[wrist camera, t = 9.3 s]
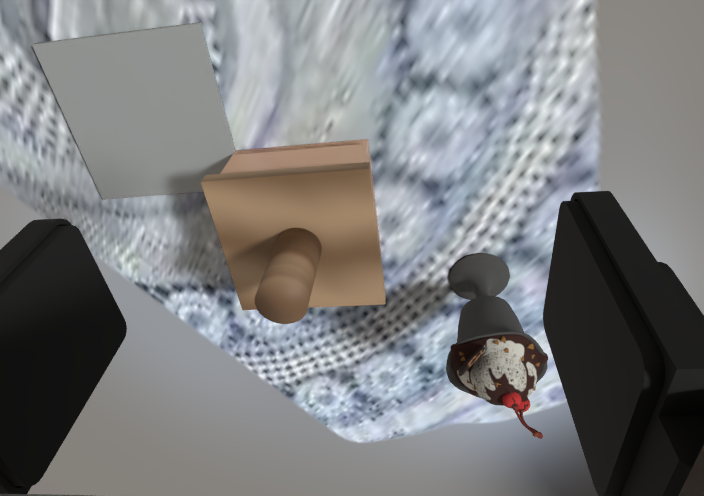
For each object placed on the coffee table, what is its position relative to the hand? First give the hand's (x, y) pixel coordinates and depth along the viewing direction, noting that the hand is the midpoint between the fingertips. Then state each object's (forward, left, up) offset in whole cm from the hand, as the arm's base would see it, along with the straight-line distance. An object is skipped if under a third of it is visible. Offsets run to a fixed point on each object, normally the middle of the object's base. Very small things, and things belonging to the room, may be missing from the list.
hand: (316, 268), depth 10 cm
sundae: (+21, +6, -27) cm, 35 cm away
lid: (+13, -7, -22) cm, 26 cm away
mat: (+5, -18, -27) cm, 32 cm away
